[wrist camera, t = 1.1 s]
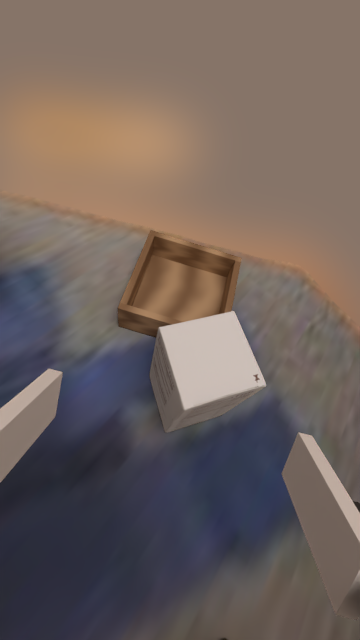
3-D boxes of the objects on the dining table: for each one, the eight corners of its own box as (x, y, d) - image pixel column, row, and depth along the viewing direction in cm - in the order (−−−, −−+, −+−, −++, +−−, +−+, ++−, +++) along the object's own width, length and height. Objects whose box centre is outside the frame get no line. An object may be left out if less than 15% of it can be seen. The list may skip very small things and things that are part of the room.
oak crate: (118, 326, 49) (117, 308, 44) (148, 252, 57) (150, 230, 52) (215, 355, 49) (225, 340, 44) (231, 278, 57) (241, 258, 52)
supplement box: (203, 359, 49) (237, 307, 34) (224, 415, 45) (271, 384, 30) (146, 373, 46) (156, 324, 31) (163, 434, 42) (183, 411, 27)
